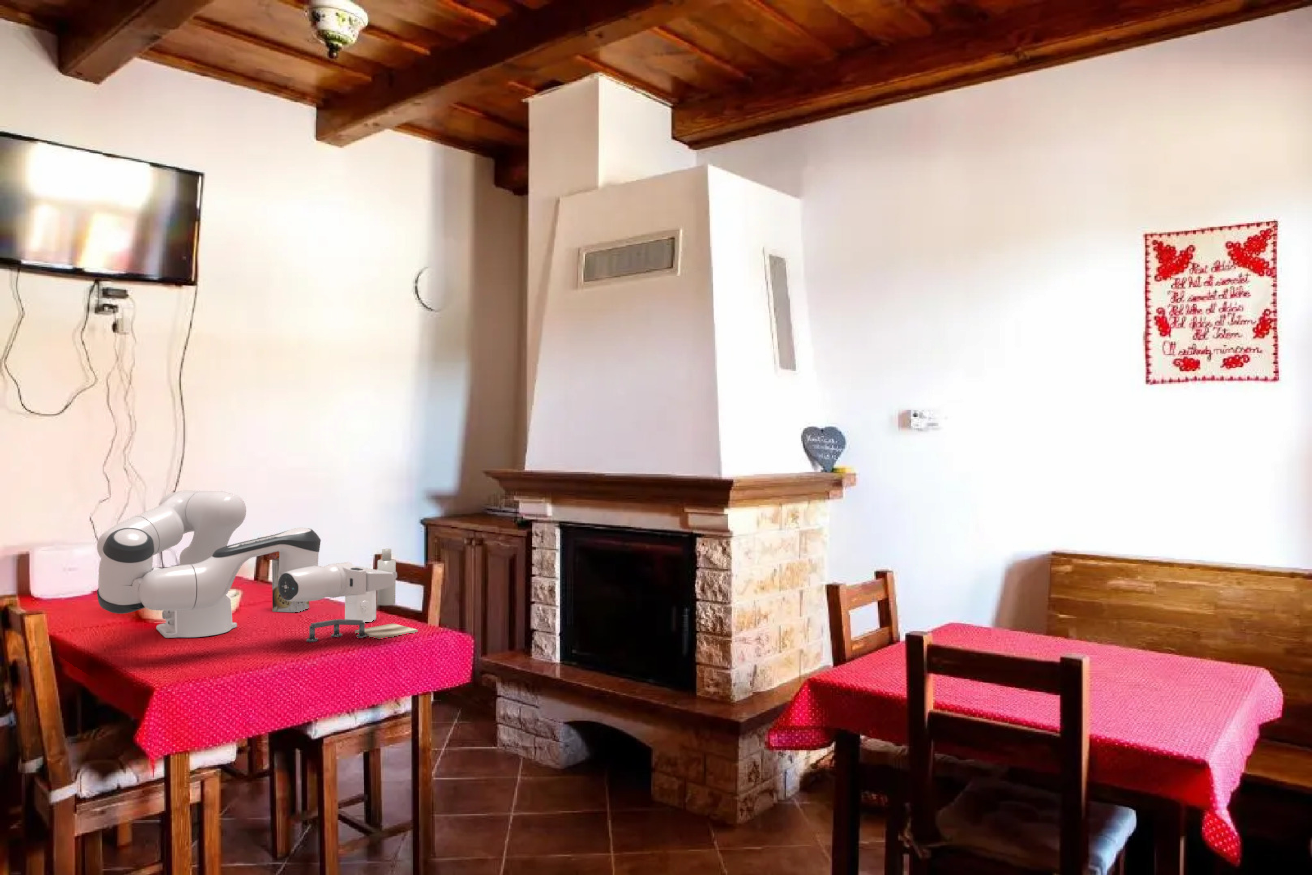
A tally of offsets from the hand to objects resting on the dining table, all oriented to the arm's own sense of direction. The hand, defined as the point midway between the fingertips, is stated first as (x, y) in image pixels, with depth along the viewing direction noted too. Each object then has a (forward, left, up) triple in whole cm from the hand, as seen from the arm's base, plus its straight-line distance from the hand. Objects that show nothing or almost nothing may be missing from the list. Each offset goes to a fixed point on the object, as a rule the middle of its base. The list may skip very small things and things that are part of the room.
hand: (389, 573), depth 246 cm
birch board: (0, -1, -16) cm, 16 cm away
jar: (-19, +3, -16) cm, 25 cm away
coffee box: (-49, -3, -17) cm, 52 cm away
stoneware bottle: (0, -1, -8) cm, 8 cm away
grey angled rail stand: (-3, -14, -16) cm, 22 cm away
